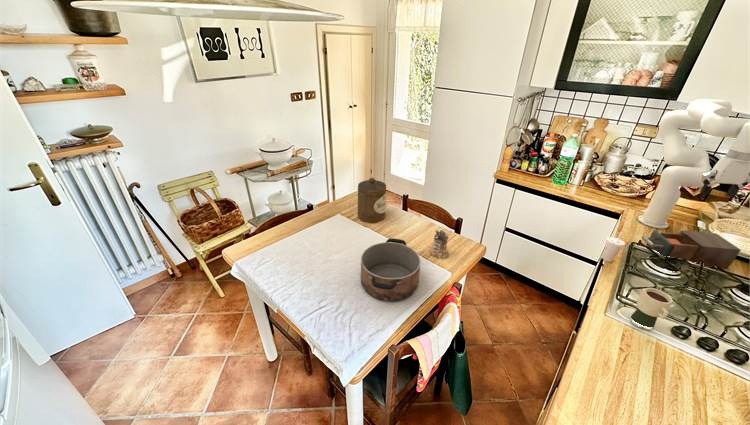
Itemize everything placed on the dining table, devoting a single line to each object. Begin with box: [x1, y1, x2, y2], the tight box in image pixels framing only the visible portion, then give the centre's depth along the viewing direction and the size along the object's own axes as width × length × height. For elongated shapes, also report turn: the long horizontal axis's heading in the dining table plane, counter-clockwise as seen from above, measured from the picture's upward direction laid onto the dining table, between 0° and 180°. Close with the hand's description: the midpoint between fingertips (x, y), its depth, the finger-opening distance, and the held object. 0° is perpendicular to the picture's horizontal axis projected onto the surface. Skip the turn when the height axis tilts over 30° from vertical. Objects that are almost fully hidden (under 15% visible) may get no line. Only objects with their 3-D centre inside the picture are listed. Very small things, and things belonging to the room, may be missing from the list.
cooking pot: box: [360, 237, 422, 302], centre depth 116 cm, size 30×22×11 cm
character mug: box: [630, 287, 673, 328], centre depth 99 cm, size 11×7×13 cm, turn 175°
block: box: [666, 238, 681, 254], centre depth 135 cm, size 5×5×5 cm
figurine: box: [430, 229, 449, 259], centre depth 132 cm, size 7×7×12 cm
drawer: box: [641, 229, 700, 261], centre depth 135 cm, size 18×12×8 cm, turn 80°
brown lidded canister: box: [357, 177, 387, 224], centre depth 159 cm, size 15×15×22 cm
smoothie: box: [601, 231, 626, 263], centre depth 130 cm, size 6×6×14 cm
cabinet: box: [678, 229, 742, 270], centre depth 133 cm, size 14×13×10 cm
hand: (716, 195), depth 127 cm, fingers open, 9 cm apart
